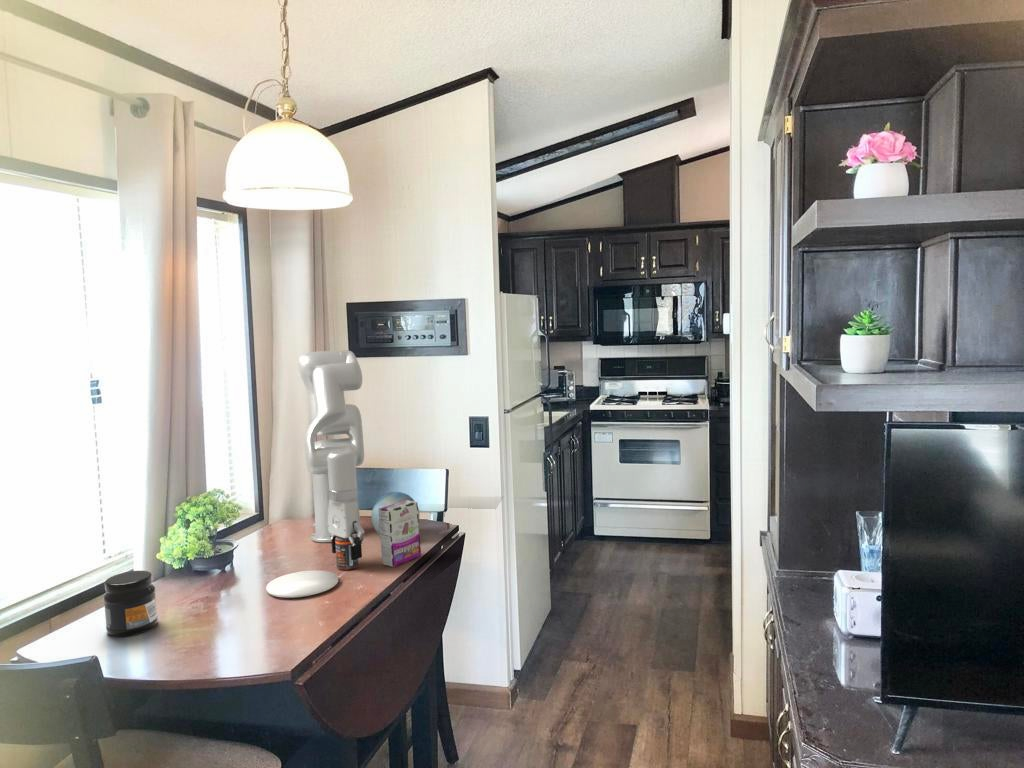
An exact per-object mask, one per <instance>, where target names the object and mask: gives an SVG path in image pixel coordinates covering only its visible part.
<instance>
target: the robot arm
mask: <svg viewBox="0 0 1024 768" xmlns="http://www.w3.org/2000/svg"><path fill="white" fill-rule="evenodd" d="M297 365H298V371H299V374H300V377H301V380H302V382H303V384H304V387H305V389H306V391H307V396H308V407H309V408H308V409H309V418H310V419H309V421H310V423H309V426H308V427H307V430H306V432H305V436H304V452H305V453H304V454H305V462H306V467H307V470H308V471H309V473H310V474H311V478H312V481H311V482H312V492H313V493H312V494H313V495H312V496H313V507H314V508H313V510H314V511H313V512H314V523H312V527H313V528H315V532H313V533H311V535H310V540H311V541H313V542H316V543H331V553H332V554H336V545H335V538H336V536H338V537H341V538H345V539H346V538H349V540H350V542H351V544H352V545H351V546H350V550H351V560H355V559H358V560H359V559H361V558H362V557H363V553H362V551H363V550H362V549H363V548H362V544H363V541H364V536H365V530H364V529H363V527H362V526H361V515H360V507H359V503H358V485H357V467H359V466H361V465H362V464H363V463H364V461H365V446H364V434H363V433H364V432H363V421H362V415H361V411H360V408H359V407H358V406H357V405H355V404H350V403H347V404H346V399H345V392H346V391H347V392H350V391H358V390H360V389H362V385H363V374H362V373H363V372H362V369H361V365H360V362H359V361H358V358H357V357H356V355H355V353H354V352H353V351H352V350H345V349H343V350H325V351H324V350H323V351H321V350H319V351H318V350H317V351H310V352H306V353H303V354H302V355H300V356H299V358H298V364H297ZM335 435H347V436H348V437H346V438H345V437H344V438H331V439H330V438H329V439H321V440H317V441H315V439H316V436H321V437H323V436H325V437H326V436H335ZM352 533H353V534H352ZM353 537H356V539H355V540H354V539H353Z"/></svg>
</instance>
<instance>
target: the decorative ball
mask: <svg viewBox="0 0 1024 768" xmlns="http://www.w3.org/2000/svg"><path fill="white" fill-rule="evenodd" d="M405 500H409V501H415V500H414V498H412V497H411V496H410V495H409V494H407V493H404V492H401V491H392V492H388V493H386V494H384V495H382V496H380V497H379V498H378V499H377V501H376V502H375V503H374V505H373V507H372V511H371V523H372V527H373V528H374V530H375V531H376V533H378V534H379V536H381V534H380V522H379V509H380V508H383V507H386V506H389V505H392V504H395V503H399V502H402V501H405ZM420 515H421V514H420V508H419V507H418V519H419V520H420Z"/></svg>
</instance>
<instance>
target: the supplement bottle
mask: <svg viewBox="0 0 1024 768" xmlns="http://www.w3.org/2000/svg"><path fill="white" fill-rule="evenodd" d="M352 534H353V533H352ZM353 539H354V540H355V539H356V537H353ZM335 545H336V553H335V560H336V563H335V564H336V569H338V570H340V571H350V569H351V570H354V569H356V568H358V566H359V559H355V560H351V550H350V546H351V545H352V544H351V542H350V540H349V538H346V539H345V538H341V537H338V536H336V538H335Z"/></svg>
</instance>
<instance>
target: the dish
mask: <svg viewBox="0 0 1024 768" xmlns="http://www.w3.org/2000/svg"><path fill="white" fill-rule="evenodd" d="M338 583H339V577H338V575H337V574H336V573H334V572H331V571H327V570H315V569H314V570H303V571H297V572H293V573H292V572H291V573H287V574H284V575H281V576H278V577H276V578H273V580H271V581H269V582H268V584H266V587H265V591H266V593H267V594H269V595H270V596H272V597H278V598H287V599H288V598H302V597H309V596H313V595H317V594H321V593H324V592H326V591H329V590H330V589H333V587H334V588H335V586H337V584H338Z"/></svg>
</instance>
